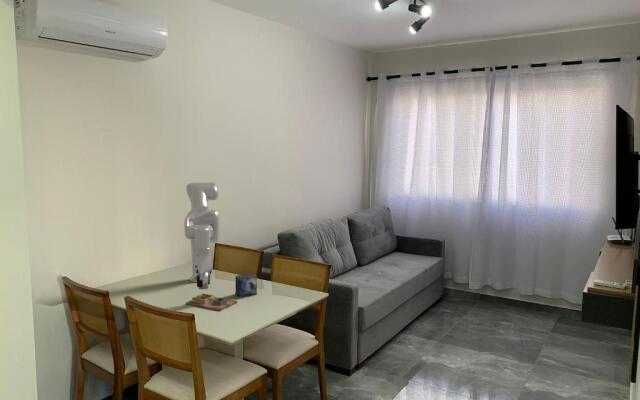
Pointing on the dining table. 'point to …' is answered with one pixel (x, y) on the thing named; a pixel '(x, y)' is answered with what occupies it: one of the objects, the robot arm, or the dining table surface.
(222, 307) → the fitting board
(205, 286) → the pipe fitting
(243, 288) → the small box
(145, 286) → the dining table surface
